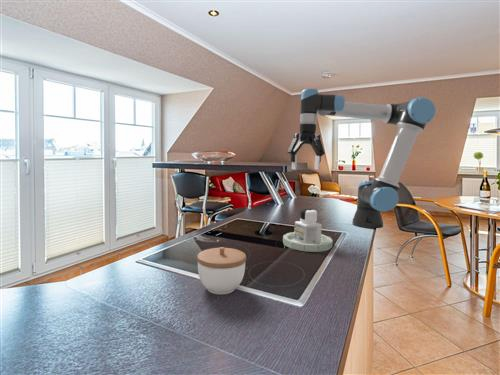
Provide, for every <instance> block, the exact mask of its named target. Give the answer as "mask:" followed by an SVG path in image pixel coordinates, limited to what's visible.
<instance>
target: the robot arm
mask: <svg viewBox="0 0 500 375" xmlns="http://www.w3.org/2000/svg"><path fill="white" fill-rule="evenodd" d="M300 96H301V97H300V113H299V118H300V119H299V122H300V124H299V133H294V134H293V139H292V140H291V142H290V145H289V147H288V148H287V149H288V150H287V154H289V155H290V162H291V170H297V163H298V162H297V161H298V155H297V153H298V152H299V150H300V149H302V148H301V147H302V146H304V145H310V146H311V148H312V150H313V152H314V154H315V156H314V170H318V171H319V170H320V166H321V164H320V163H321V161H322V159H321V158H322V156H324V155H325V153H326V152H325V150H324V146H323V144H322V140H321V135H320V134H316V132H317V117H318V115H319V116H322V117H324V116H331V117H342V118H343V117H345V118H353V119H362V120H370V121H381V122H383V124H389V125H395V126H397V132H396V134H395V137H394V139H393V141H392V143H391V146H390V149H389V151H388V154H387V156H386V158H385V161H384V163H383V166H382V169H381V171H380V173H379V176H377V177H375V178H374V179H373V180H365V181H363V180H362V181H361V180H360V182H359V183H358V186H357V203H356V211H355V213H354V215H353V218H352V221H351V222H352V225H354V226H357V227H360V228H366V229H382V228H383V227H384V219H383V216H382V212H389V211H392V210H393V209H394V208H395V207H397V205H398V203H399V200H400V198H399V193H398V192H399V189H400V184H399V180H400V178H401V175H402V173H403V172H404V171H403V170H404V169H405V166H406V164H407V161H408V158H409V156H410V154H411V152H412V148H413V146H414V144H415V142H416V139H417V137H418V135H420V133H423V132H424V130H425V127H426V125H427V123H430V122H431V121H432V120H433V119H434V117H435V115H436V106H435V104H434V102H433V101H432V100H431V99H430V98H427V97H423V96H421V97H414V98H412V99H411V100H407V101H404V102H400V103H387V104H385V105H384V104H375V103H365V102H364V103H363V102H355V101H345V96H344V95H342V94H326V93H325V94H323V93H322V94H321V93H319V90H318V89H316V88H305V89H303V90H302V91H301V95H300Z"/></svg>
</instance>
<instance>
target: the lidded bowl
mask: <svg viewBox="0 0 500 375" xmlns="http://www.w3.org/2000/svg"><path fill="white" fill-rule="evenodd" d="M196 257H197V258H196V259H197V260H196V261H197V273H198V278H199V280H200V282H201V284H202V285H203V287H204V288H206V289H207V291H208V292H209V293H210V294H213V295H220V296H221V295H228V294H229V295H230V293H231V294H232V293H233V292H235V290H236V289H237V288H238V287H239V285H240V284H241V283H242V281H243V279H244V275H245V272H246V261H247V255H246V253H245V252H243V251H242V250H239V249H236V248H231V247H224V246H221V247H213V248H212V247H211V248H208V249H204V250H202V251H200V252H199V253H198V254H197V255H196Z"/></svg>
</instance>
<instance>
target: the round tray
mask: <svg viewBox="0 0 500 375" xmlns="http://www.w3.org/2000/svg"><path fill="white" fill-rule="evenodd" d="M333 241H334V240H333V238H331V236H327V235H325V234H323V233H321V243H317V244H304V243H300V242H298V241H296V240H294V231H293V232H287V233H286V234H283V236H282V243H283V245H284V246H285V247H287V248H290V249H292V250H297V251H301V252H312V253H313V252H314V253H320V252H325V251H330V249H332V248H333V245H334V244H333Z"/></svg>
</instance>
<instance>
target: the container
mask: <svg viewBox="0 0 500 375" xmlns="http://www.w3.org/2000/svg"><path fill="white" fill-rule="evenodd" d="M299 212H300V215H299V216H300V218H299V221H298V220H297V221H294V231H293V232H294V240H296V241H298V242H300V243H304V244H317V243H321V234H322V229H323V228H322V227H323V226H322V223H319V222H317V219H318V211H317V210H315V209H312V208H303V209H301V210H300V211H299Z"/></svg>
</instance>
